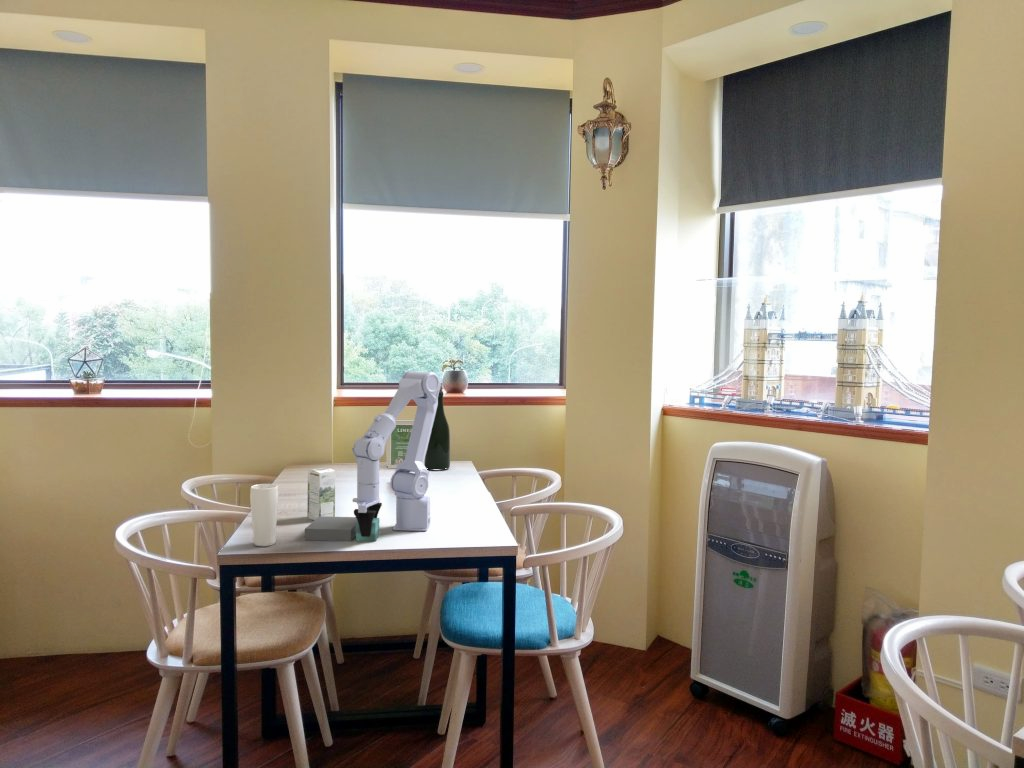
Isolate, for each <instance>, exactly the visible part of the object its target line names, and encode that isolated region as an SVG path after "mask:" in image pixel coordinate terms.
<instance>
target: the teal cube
mask: <svg viewBox="0 0 1024 768" xmlns="http://www.w3.org/2000/svg"><path fill="white" fill-rule="evenodd" d="M355 537H356V540H355V541H356V542H373V543H374V542H377V540H378V539H379V538H380V517H377V518H373V522H372V528H371V534H370V536H369V537H362V536H361V532H360V528H359V524H358V521H357V522H356V535H355Z"/></svg>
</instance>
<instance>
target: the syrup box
mask: <svg viewBox="0 0 1024 768" xmlns="http://www.w3.org/2000/svg"><path fill="white" fill-rule="evenodd" d="M335 513H336V470H334V469H332V468H330V467H329V468H328V467H321V468H314V469H309V470H307V519H309V520H312V521H314V520H316V519H317V518H318V517H319V516H323V517H336V514H335Z"/></svg>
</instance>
